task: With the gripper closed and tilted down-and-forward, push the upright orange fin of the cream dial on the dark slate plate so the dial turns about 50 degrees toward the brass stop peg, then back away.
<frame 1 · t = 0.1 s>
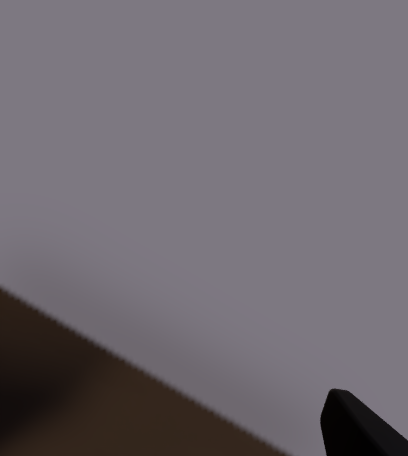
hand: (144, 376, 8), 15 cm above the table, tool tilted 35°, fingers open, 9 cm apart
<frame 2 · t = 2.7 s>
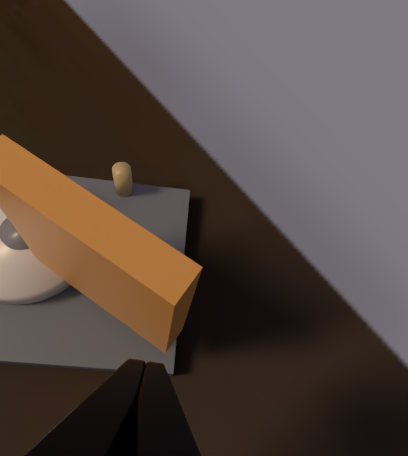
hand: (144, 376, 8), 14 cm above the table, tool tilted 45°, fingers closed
dial: (51, 234, 17), point 7 cm above the table, hinge at 0.0°
panel: (75, 266, 24), on the table
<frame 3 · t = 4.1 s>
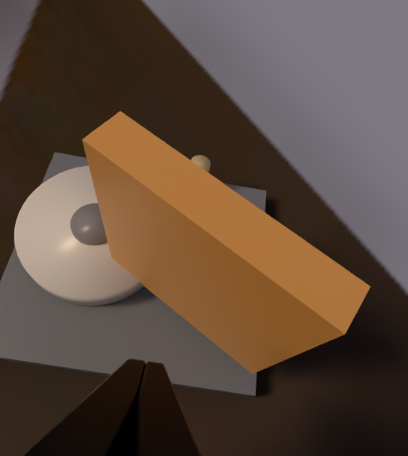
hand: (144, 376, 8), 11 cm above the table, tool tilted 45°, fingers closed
dial: (142, 231, 15), point 7 cm above the table, hinge at 0.0°
panel: (142, 266, 22), on the table
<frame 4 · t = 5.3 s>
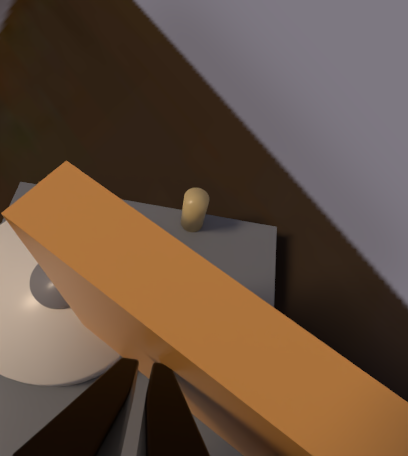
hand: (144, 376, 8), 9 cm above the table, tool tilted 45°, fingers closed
dial: (117, 306, 11), point 7 cm above the table, hinge at 2.1°, touching gripper
panel: (125, 324, 17), on the table
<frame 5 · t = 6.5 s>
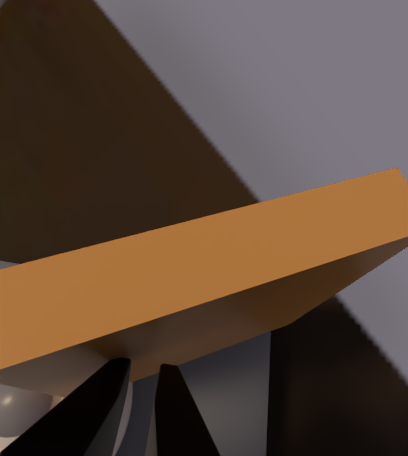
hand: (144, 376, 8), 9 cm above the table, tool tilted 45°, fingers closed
dial: (104, 348, 11), point 7 cm above the table, hinge at 57.5°, touching gripper
panel: (97, 430, 15), on the table
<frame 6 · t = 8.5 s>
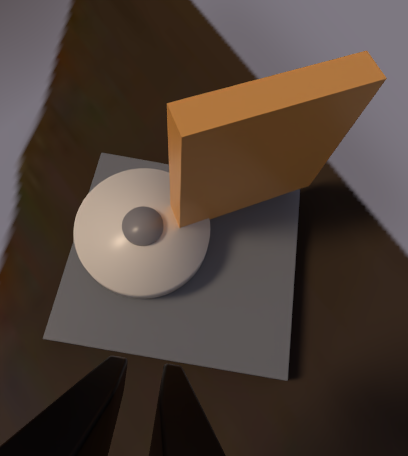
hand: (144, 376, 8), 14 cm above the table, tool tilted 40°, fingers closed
dial: (202, 177, 18), point 7 cm above the table, hinge at 60.7°
panel: (184, 260, 24), on the table
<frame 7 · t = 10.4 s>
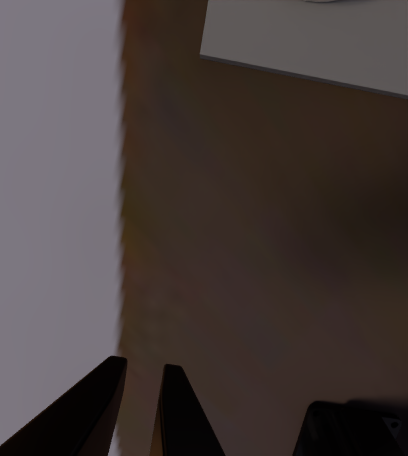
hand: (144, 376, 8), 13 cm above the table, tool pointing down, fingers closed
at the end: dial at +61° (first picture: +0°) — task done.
